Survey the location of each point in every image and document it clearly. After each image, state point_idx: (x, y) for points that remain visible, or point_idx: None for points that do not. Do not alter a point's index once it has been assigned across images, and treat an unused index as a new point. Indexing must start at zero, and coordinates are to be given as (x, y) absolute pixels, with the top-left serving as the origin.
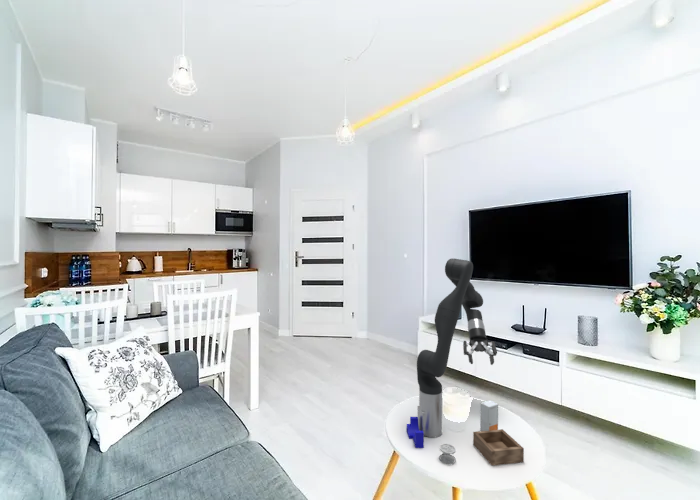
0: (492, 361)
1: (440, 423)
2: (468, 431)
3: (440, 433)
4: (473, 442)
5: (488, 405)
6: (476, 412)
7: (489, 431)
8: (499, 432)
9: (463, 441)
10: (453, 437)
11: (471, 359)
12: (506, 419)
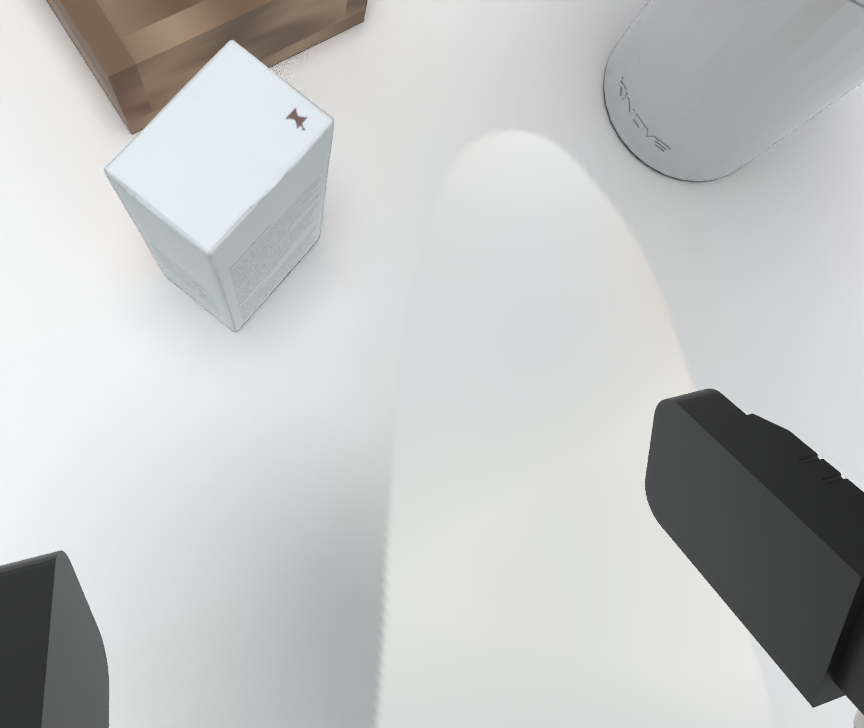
0: (1, 598)
1: (651, 5)
2: (413, 202)
3: (613, 55)
4: (363, 6)
5: (235, 75)
6: (369, 601)
7: (235, 2)
8: (143, 34)
9: (437, 44)
10: (514, 74)
11: (752, 435)
12: None
